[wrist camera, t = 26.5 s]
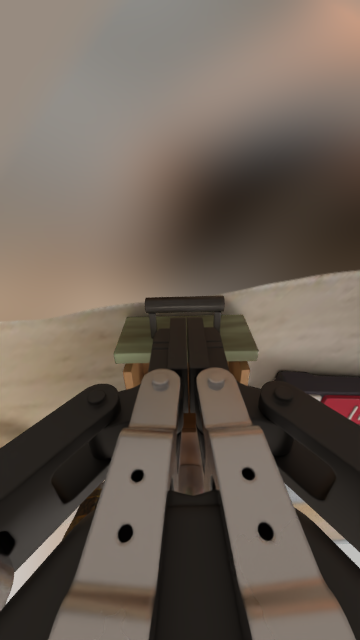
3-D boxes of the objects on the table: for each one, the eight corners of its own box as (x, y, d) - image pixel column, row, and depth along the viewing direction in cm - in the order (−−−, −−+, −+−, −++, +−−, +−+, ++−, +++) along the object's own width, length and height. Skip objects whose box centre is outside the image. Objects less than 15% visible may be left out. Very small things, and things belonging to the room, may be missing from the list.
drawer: (121, 281, 26) (104, 312, 20) (247, 278, 26) (265, 308, 20) (140, 404, 36) (132, 449, 30) (233, 403, 35) (243, 447, 30)
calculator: (368, 452, 36) (267, 452, 35) (350, 426, 40) (258, 424, 39) (410, 398, 31) (292, 396, 29) (384, 373, 34) (278, 370, 33)
